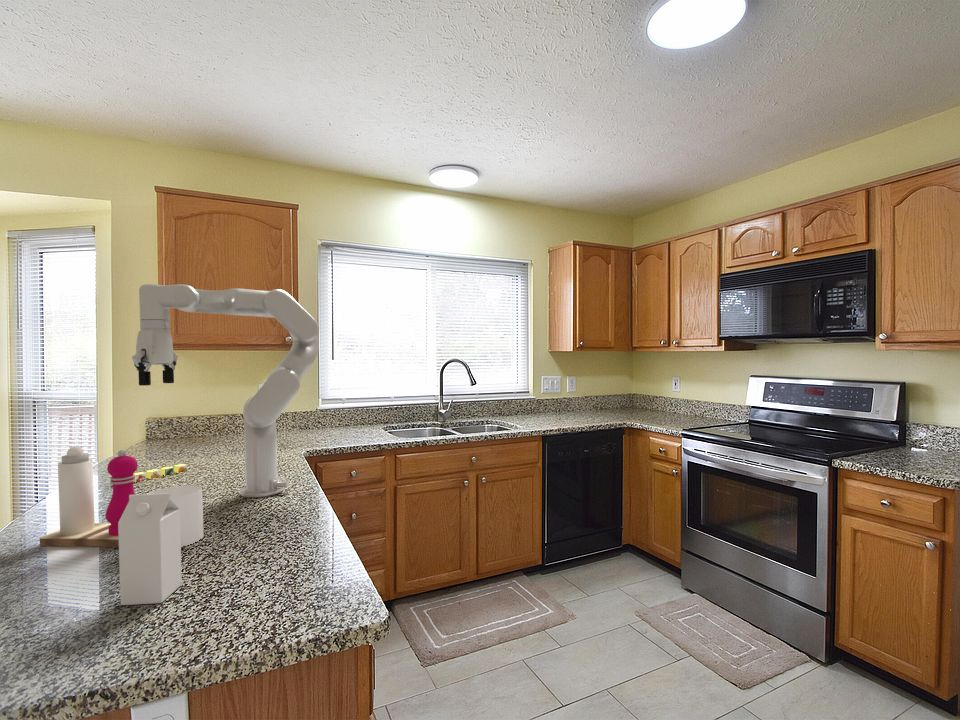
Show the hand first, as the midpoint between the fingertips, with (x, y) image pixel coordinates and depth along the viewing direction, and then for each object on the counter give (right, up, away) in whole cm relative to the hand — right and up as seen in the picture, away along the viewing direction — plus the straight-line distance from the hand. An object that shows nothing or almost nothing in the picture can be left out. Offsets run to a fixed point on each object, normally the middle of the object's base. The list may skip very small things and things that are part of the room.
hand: (157, 384), depth 148 cm
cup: (+23, -37, -28) cm, 51 cm away
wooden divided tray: (+3, -37, -26) cm, 45 cm away
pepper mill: (+9, -35, -26) cm, 45 cm away
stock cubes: (-21, -37, +33) cm, 54 cm away
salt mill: (-3, -35, -25) cm, 43 cm away
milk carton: (+35, -37, -55) cm, 75 cm away
